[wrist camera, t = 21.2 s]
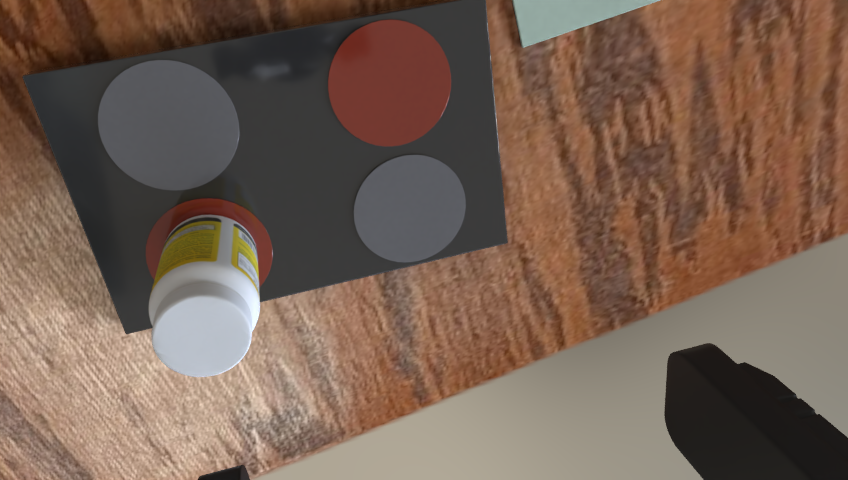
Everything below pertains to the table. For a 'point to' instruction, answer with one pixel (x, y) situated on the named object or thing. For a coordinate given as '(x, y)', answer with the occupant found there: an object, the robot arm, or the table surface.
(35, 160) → the table surface
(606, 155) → the table surface
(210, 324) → the supplement bottle
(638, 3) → the cloth
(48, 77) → the hob
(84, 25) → the table surface
